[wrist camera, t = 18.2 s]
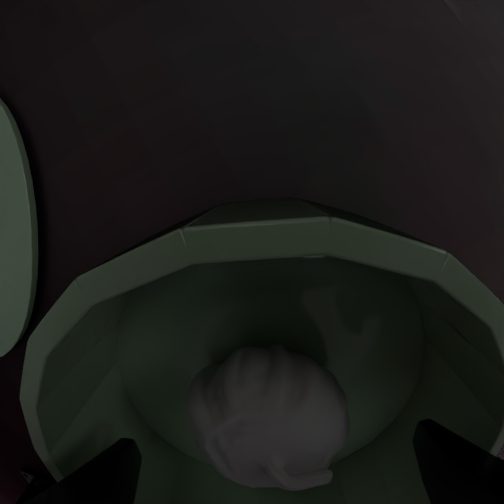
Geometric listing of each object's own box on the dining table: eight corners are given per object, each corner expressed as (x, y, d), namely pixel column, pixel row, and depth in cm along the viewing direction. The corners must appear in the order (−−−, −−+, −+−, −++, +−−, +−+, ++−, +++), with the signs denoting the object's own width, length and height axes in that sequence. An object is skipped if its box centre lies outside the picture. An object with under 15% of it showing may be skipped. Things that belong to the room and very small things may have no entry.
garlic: (368, 367, 12) (412, 457, 7) (289, 445, 13) (295, 535, 8) (244, 291, 11) (230, 376, 6) (174, 389, 12) (138, 481, 7)
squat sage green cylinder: (153, 470, 14) (123, 556, 8) (80, 218, 11) (-43, 254, 5) (403, 455, 14) (437, 540, 7) (442, 190, 11) (566, 209, 4)
